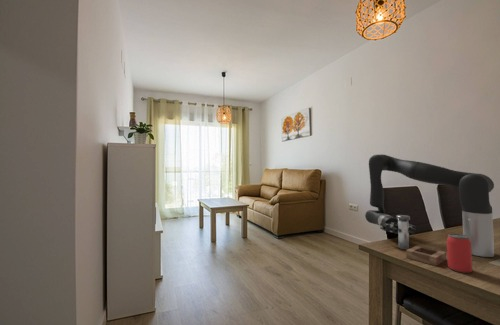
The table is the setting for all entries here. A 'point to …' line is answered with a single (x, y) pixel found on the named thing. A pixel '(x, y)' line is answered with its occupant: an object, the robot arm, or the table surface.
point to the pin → (403, 231)
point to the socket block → (426, 255)
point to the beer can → (459, 253)
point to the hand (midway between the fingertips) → (405, 231)
